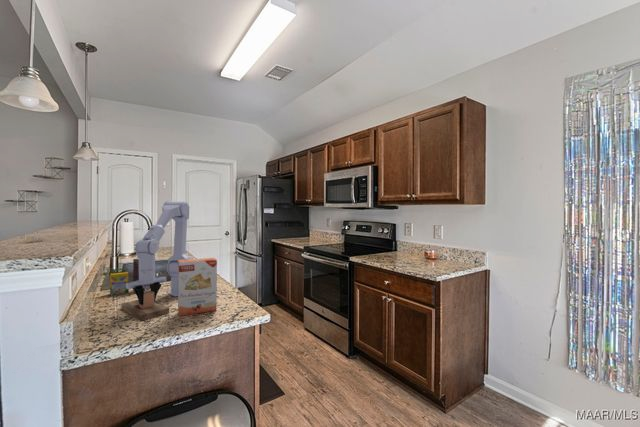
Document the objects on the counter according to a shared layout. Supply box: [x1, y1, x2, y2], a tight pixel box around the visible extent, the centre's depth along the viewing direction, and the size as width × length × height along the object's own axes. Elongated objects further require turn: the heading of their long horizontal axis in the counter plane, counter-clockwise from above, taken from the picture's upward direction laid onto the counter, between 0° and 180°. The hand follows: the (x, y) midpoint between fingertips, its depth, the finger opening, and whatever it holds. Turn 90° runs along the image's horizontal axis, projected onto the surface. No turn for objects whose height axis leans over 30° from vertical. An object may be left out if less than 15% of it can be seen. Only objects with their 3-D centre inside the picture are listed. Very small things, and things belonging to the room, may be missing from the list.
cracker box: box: [177, 257, 218, 317], centre depth 119 cm, size 14×6×21 cm, turn 117°
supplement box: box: [132, 257, 150, 293], centre depth 149 cm, size 9×5×16 cm, turn 168°
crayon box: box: [109, 267, 130, 296], centre depth 142 cm, size 7×3×12 cm, turn 126°
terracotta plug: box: [139, 289, 154, 309], centre depth 120 cm, size 4×4×6 cm
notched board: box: [120, 299, 170, 321], centre depth 120 cm, size 10×20×2 cm, turn 52°
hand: (147, 302), depth 120 cm, fingers closed on terracotta plug, 4 cm apart
